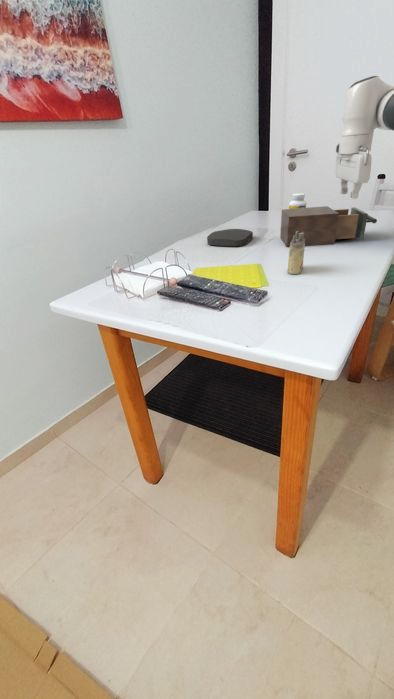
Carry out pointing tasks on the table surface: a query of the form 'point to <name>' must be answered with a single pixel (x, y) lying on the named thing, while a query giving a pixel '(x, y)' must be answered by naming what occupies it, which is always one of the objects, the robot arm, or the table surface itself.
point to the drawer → (352, 223)
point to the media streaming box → (230, 237)
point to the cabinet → (310, 225)
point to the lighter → (296, 253)
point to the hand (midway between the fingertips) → (348, 195)
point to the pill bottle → (297, 201)
